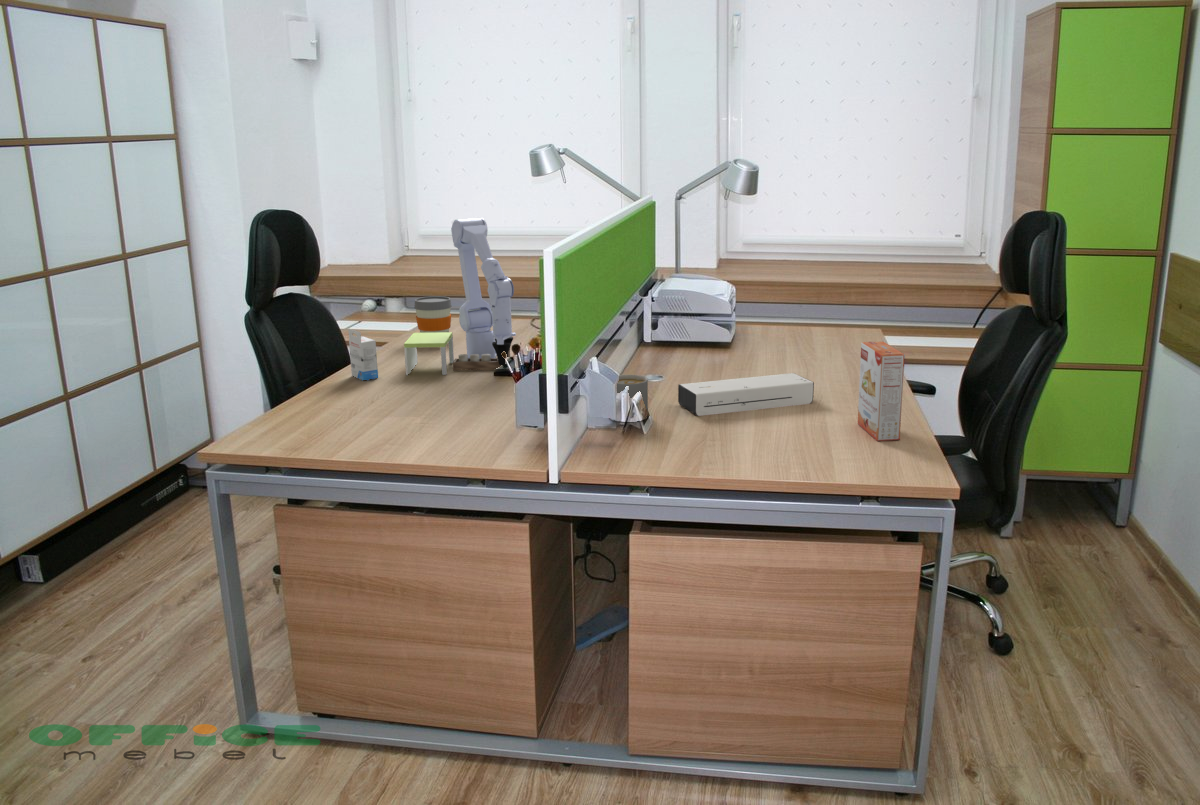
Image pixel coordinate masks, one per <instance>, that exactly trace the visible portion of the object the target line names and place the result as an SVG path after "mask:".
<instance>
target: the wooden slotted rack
mask: <svg viewBox="0 0 1200 805" xmlns="http://www.w3.org/2000/svg"><path fill="white" fill-rule="evenodd" d="M510 350H511V349H510ZM510 350H508V357H510V358H511V351H510ZM500 366H501V365H499V362H498V358H497V357H495V358H491V355H490V354H482V355H481V358H479V354H471V355H470V358H468V355H467V353H462V354H458V358H454V361H453V363H452V371H495V370H494V369H496V368H498V367H500Z"/></svg>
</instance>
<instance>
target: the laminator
mask: <svg viewBox="0 0 1200 805" xmlns="http://www.w3.org/2000/svg"><path fill="white" fill-rule="evenodd" d="M677 387H678V388H677V390H678V391H677V392H678V394H677V395H678V396H677V399H678V400H677V402H678V404H679V406H682V407H684V408H685V409H686V410H688V411H689V412H691V413H693V414H694V415H695V416H696V417H699V416H700V417H701V416H702V417H703V416H710V415H718V414H728V413H737V412H746V411H747V412H748V411H755V410H764V409H765V410H766V409H772V408H782V407H783V408H784V407H791V406H801V405H810V404H813V401H814V392H815V391H814V389H815V383H814V381H812V380H810V379H808V378H806V377H804V376H802V375H799V374H797V373H795V372H790V373H789V372H788V373H780V374H772V375H771V374H769V375H760V376H751V377H750V376H749V377H739V378H738V377H737V378H729V379H719V380H709V381H701V382H692V383H691V382H690V383H680V384H678V385H677Z"/></svg>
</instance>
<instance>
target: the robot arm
mask: <svg viewBox="0 0 1200 805" xmlns="http://www.w3.org/2000/svg"><path fill="white" fill-rule="evenodd" d="M450 231H451V237H452V242H453V247H454V248H457V251H458V258H459V264H460V270H461V276H462V282H463V288H464V294H465V295H464V296H465V301H464V302H463V304H462V305H461V306H460V307H459V311H458V312H459V318H458V320H459V326H460V328H461V329H462V330H463V332H465V344H466V354H467V355H468V358H470V355H471V354H479V358H481V355H482V354H490V355H491V358H498V362H499V365H505V359H504V358H503V357H502V355H501V353H502V352H503V351H505V352H506V354H507V357H508V350H511V347H512V342H513V340H514V337H516V335H517V333H516V332H513V328H512V327H513V325H512V297H514V294H515V286H514V284H513V281H512V279H511V278H509V276H508V275H505V272H504V270H503V269H502V266H501V264H500V261H499V260H498V259H496V258H494V256H493V254H492V250H491V248H490V245H489V243H488V239H487V238H488V224H487V222H486V220H485V219H484V218H483V217H478V218H467V219H465V218H464V219H463V218H462V219H458V218H457V219H454V220H453V222H452V225H451V230H450ZM475 252H476V253H477V255H478V257H479V259H480V261H481V263H482V264H481V266H480V268H481V271H482V273H483V275H484V278H485V280H486V281H485V282H487V285H488V286H487V294H488V297H489V302H487V301H486V300H484V299H483V298H482V291H481V290H482V289H481V284H480V279H479V272H478V265H477V264H478V263H477V260H476V253H475ZM491 328H492V330H491Z"/></svg>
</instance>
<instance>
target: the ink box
mask: <svg viewBox="0 0 1200 805" xmlns="http://www.w3.org/2000/svg"><path fill="white" fill-rule="evenodd" d="M353 334H354V335H353ZM376 341H377V340H375V339H372V338H370V337H369V338H368V337H367V336H362V333H361V331H357V330H355V329H351V328H348V344H349V354H350V366H351V367H350V368H351V369H350V370H351V377H353V376H354V377H353V378H355V377H356V379H358V378H359V379H358V380H360V379H361V380H360V381H363V380H367V381H370V380H369V379H373V380H376V379H375V378H378V379H379V371H378V370H379V369H378V356H377V345H376V344H377V343H376Z"/></svg>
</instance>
